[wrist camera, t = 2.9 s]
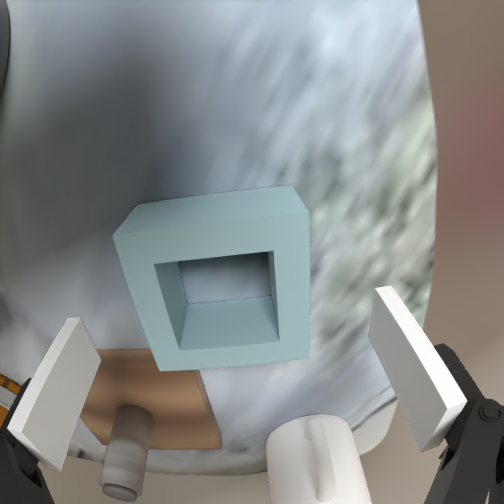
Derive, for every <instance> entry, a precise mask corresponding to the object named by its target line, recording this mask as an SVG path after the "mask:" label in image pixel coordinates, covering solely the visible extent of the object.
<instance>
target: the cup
mask: <svg viewBox="0 0 504 504" xmlns="http://www.w3.org/2000/svg"><path fill="white" fill-rule="evenodd" d="M266 458H267V468H268V478H269V489H270V498H271V504H372V502H371V498H370V495H369V491H368V487H367V484H366V480H365V476H364V473H363V469H362V466H361V462H360V459H359V455H358V452H357V448H356V445H355V441H354V438H353V435H352V432H351V429H350V427H349V425H348V424H347V423H346V421H344V420H343V419H341V418H340V417H337V416H334V415H327V414H317V415H309V416H303V417H299V418H296V419H293V420H290V421H288V422H285V423H283V424H281V425H280V426H278V427H277V428H275V429H274V430H273V431H272V432H271V433H270V435H269V436H268V438H267V441H266Z"/></svg>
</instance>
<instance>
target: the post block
mask: <svg viewBox="0 0 504 504" xmlns="http://www.w3.org/2000/svg"><path fill="white" fill-rule="evenodd" d="M47 351H48V350H47ZM97 352H98V354H99V356H100V358H101V363H100V365H99V367H98V370H97V372H96V375H95V377H94V380H93V382H92V385H91V387H90V390H89V393H88V395H87V398H86V400H85V403H84V406H83V408H82V411H81V414H80V418H81V420H82V421H83V422H84V423H85V425H86V426H87V427H88V428H89V429H90V431H91V432H92V433H93V434H94V435H95V437H96V438H97V439H98V440H99V441H100V442H101V444H102V445H108V447H107V451H106V455H105V459H104V464H103V468H102V473H101V477H100V482H99V485H100V486H101V487H102V488H103V489H102V492H103V493H104V494H106V495H108V496H110V497H112V498H115V499H118V500H122V501H127V502H134V501H136V499H137V497H140V496H141V495H142V487H143V479H144V473H145V466H146V459H147V453H148V449H175V450H201V449H221V434H220V431H219V428H218V425H217V422H216V420H215V417H214V414H213V411H212V408H211V405H210V402H209V399H208V396H207V393H206V390H205V387H204V384H203V381H202V378H201V375H200V372H199V369H198V370H178V371H160V370H159V368H158V366H157V363H156V361H155V358H154V356H153V354H152V351H151V349H130V350H97ZM46 353H47V352H46ZM42 360H43V359H42Z"/></svg>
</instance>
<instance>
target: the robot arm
mask: <svg viewBox="0 0 504 504" xmlns="http://www.w3.org/2000/svg"><path fill="white" fill-rule="evenodd" d="M8 49H9V17H8V10H7V6H6V2H5V0H0V95H1V91H2V87H3V82H4V77H5V71H6V65H7V58H8ZM368 337H369V339H370V341H371V343H372V345H373V347H374V349H375V351H376V353H377V355H378V357H379V359H380V362H381V364H382V366H383V368H384V370H385V372H386V374H387V376H388V379H389V381H390V383H391V385H392V387H393V389H394V392H395V394H396V396H397V398H398V400H399V403H400V405H401V407H402V409H403V412H404V414H405V416H406V418H407V421H408V423H409V425H410V428H411V430H412V432H413V435H414V437H415V439H416V442H417V444H418V447H419V449H420V452H424V451H427V450H430V449H432V448H435V447H437V446H439V445H440V444H441V442H442V441H443V439H444V438H445V439H446V441H447V444H448V445H447V447H446V448H445V450H444V451H443V452H442V454H441V455H440V457H439V459H441V458H442V457H443V458H442V461H441V463H440V466H439V469H438V471H437V474H436V476H435V479H434V481H433V484H432V486H431V489H430V491H429V493H428V495H427V498H426V500H425V502H424V504H485V502H486V498H487V495H488V492H489V502H488V504H504V406H501V405H500V404H499V403H498V402H496V401H494V400H492V399H486V398H485V397H484V396H483V395H482V393H481V391H480V390H479V388H478V387H477V385H476V384H475V382H474V381H473V379H472V377H471V376H470V374H469V373H468V372H467V370H465V367H464V365H463V364H462V362H460V360H459V358H458V357H457V355H456V354H455V352H454V351H453V350H452V349H450V348H449V347H448V346H446V345H445V344H443V343H442V344H439V345H436V346H433V345H432V344H431V342H430V341H429V339H428V338H427V336H426V335H425V333H424V332H423V330H422V329H421V327H420V326H419V324H418V323H417V322H416V320H415V319H414V317H413V316H412V314H411V313H410V312H409V310H408V309H407V307H406V306H405V305H404V303H403V302H402V300H401V299H400V298H399V296H398V295H397V293H396V292H395V291H394V289H393V288H392V287H391V286H386V287H380V288H375V293H374V301H373V309H372V316H371V323H370V330H369V336H368ZM100 363H101V358H100V356H99V354H98V352H97V350H96V348H95V346H94V344H93V342H92V340H91V338H90V336H89V334H88V332H87V330H86V327H85V325H84V323H83V321H82V318H81V317H68V318H67V320H66V321H65V323H64V325H63V326H62V328H61V329H60V331H59V333H58V334H57V336H56V338H55V339H54V341H53V343H52V344H51V346H50V348H49V349H48V351H47V353H46V354H45V356H44V358H43V360H42V361H41V363H40V365H39V367H38V369H37V370H36V372H35V374H34V376H33V378H29V379H28V380H27V381H26V382H25V383H24V384H23V385H22V386H21V388H20V390H19V392H18V394H17V397H15V399H14V401H13V404H12V405H11V407H10V409H9V411H8V413H7V415H6V417H5V419H4V421H3V423H2V425H1V428H0V504H54V501H53V499H52V497H51V495H50V492H49V490H48V487H47V485H46V482H45V480H44V477H43V475H42V472H41V470H40V469H39V467H38V466H37V464H38V461H40V462H41V463H42V464H43V465H44V466H45V467H47V468H49V469H53V470H57V471H61V470H62V467H63V464H64V461H65V458H66V455H67V452H68V449H69V446H70V443H71V440H72V437H73V434H74V431H75V428H76V425H77V422H78V419H79V417H80V414H81V411H82V408H83V406H84V403H85V400H86V398H87V395H88V393H89V390H90V387H91V385H92V382H93V380H94V377H95V375H96V372H97V370H98V367H99V365H100Z"/></svg>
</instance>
